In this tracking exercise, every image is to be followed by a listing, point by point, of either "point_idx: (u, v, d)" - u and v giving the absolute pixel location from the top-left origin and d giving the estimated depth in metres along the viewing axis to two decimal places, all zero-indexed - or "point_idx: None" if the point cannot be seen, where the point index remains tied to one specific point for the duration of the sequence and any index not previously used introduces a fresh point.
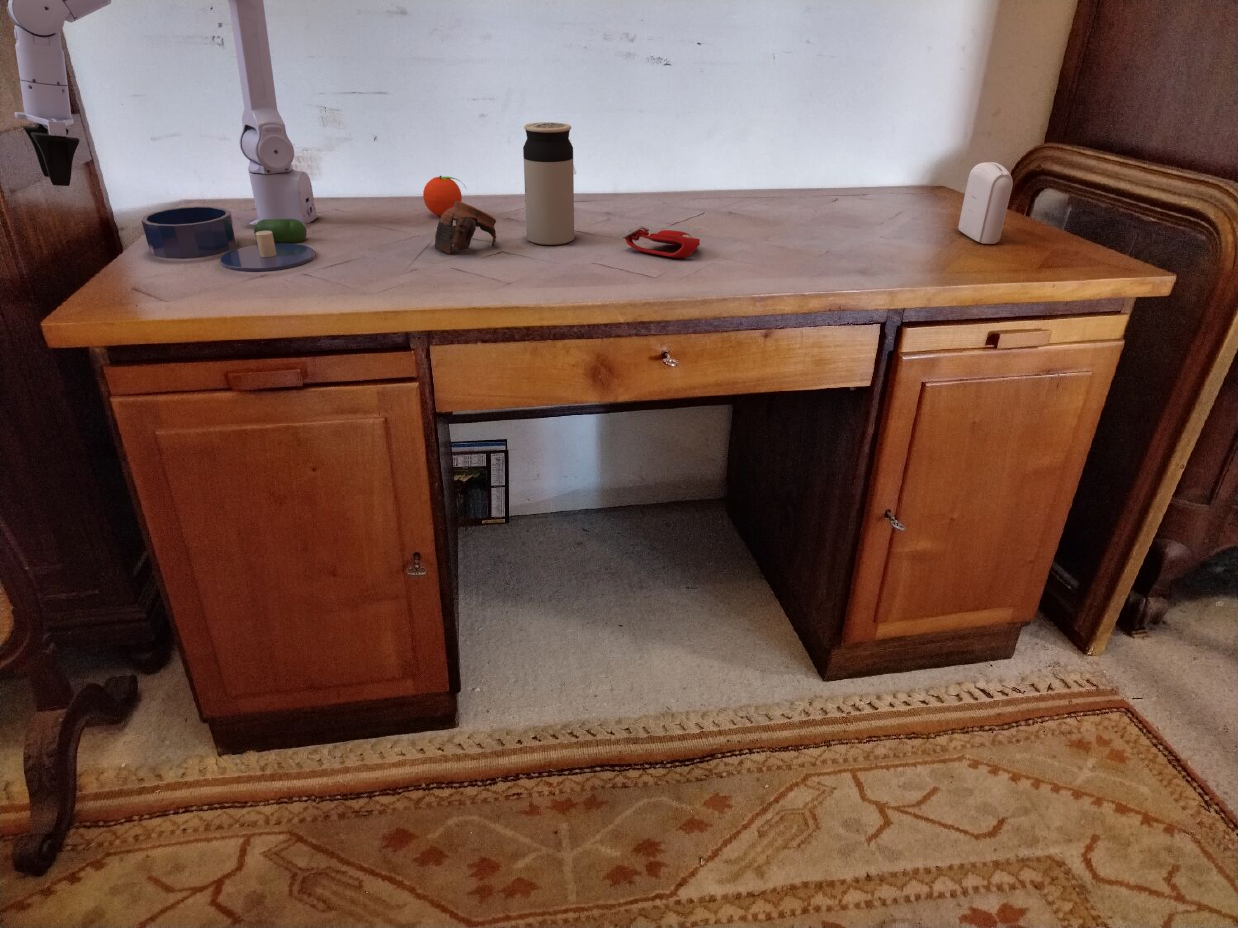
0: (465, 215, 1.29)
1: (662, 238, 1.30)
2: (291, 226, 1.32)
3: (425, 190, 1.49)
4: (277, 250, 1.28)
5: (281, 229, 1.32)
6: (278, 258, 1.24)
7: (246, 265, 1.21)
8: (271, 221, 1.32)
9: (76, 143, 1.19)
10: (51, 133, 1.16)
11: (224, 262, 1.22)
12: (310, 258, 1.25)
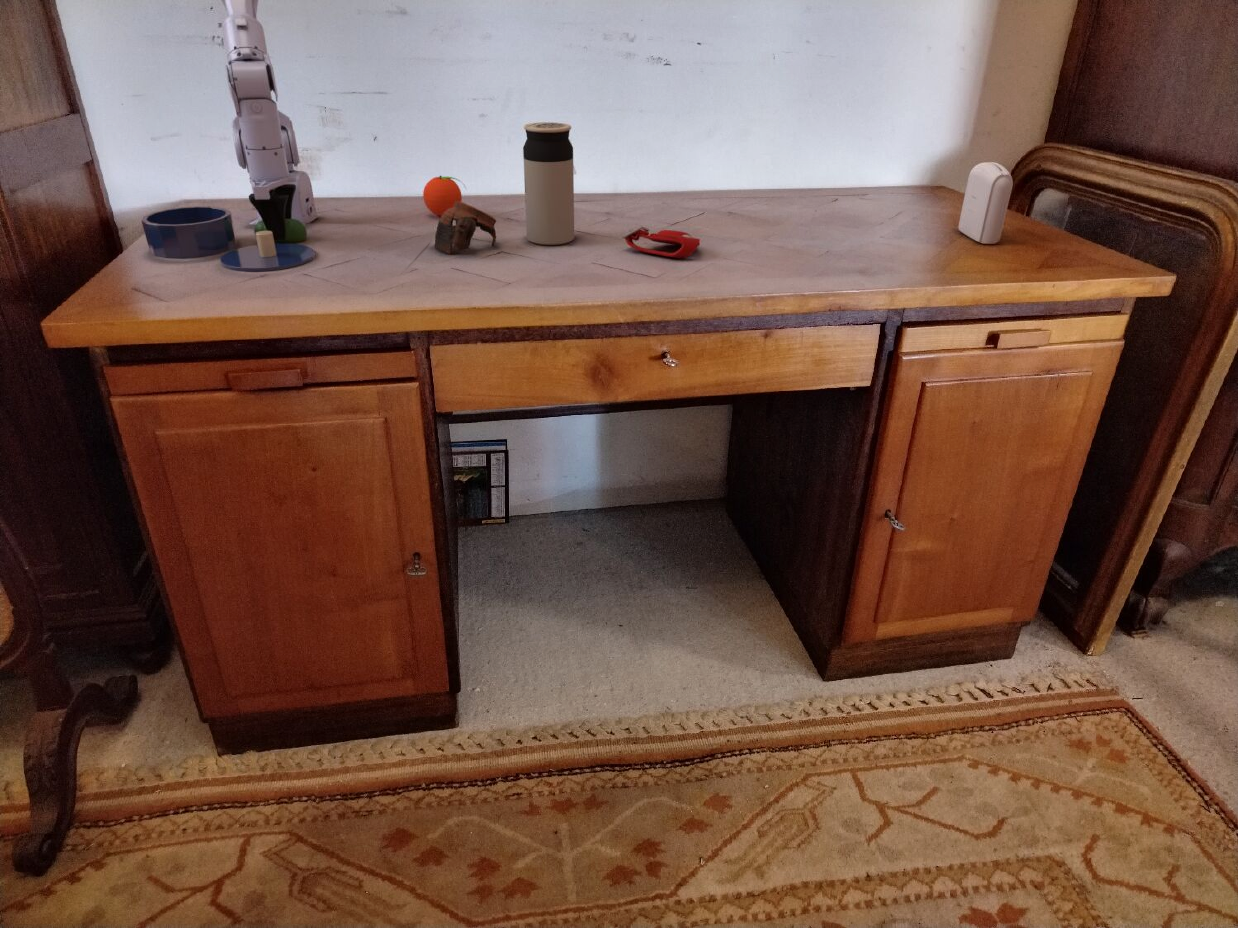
0: (465, 215, 1.29)
1: (662, 238, 1.30)
2: (291, 226, 1.32)
3: (425, 190, 1.49)
4: (277, 250, 1.28)
5: None
6: (278, 258, 1.24)
7: (246, 265, 1.21)
8: None
9: None
10: None
11: (224, 262, 1.22)
12: (310, 258, 1.25)
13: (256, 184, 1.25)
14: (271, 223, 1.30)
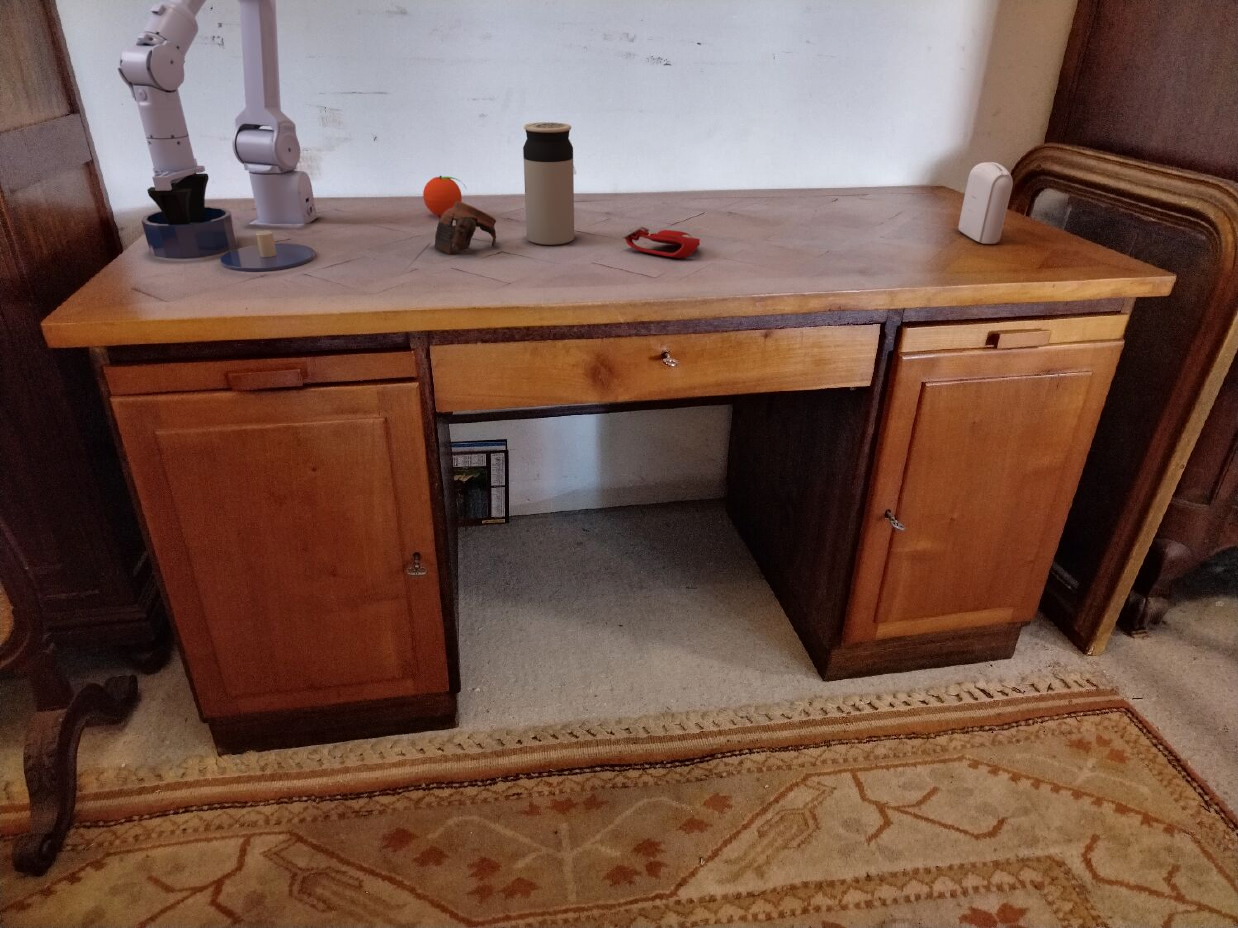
0: (465, 215, 1.29)
1: (662, 238, 1.30)
2: None
3: (425, 190, 1.49)
4: (277, 250, 1.28)
5: None
6: (278, 258, 1.24)
7: (246, 265, 1.21)
8: None
9: None
10: None
11: (224, 262, 1.22)
12: (310, 258, 1.25)
13: (157, 175, 1.20)
14: (174, 218, 1.24)
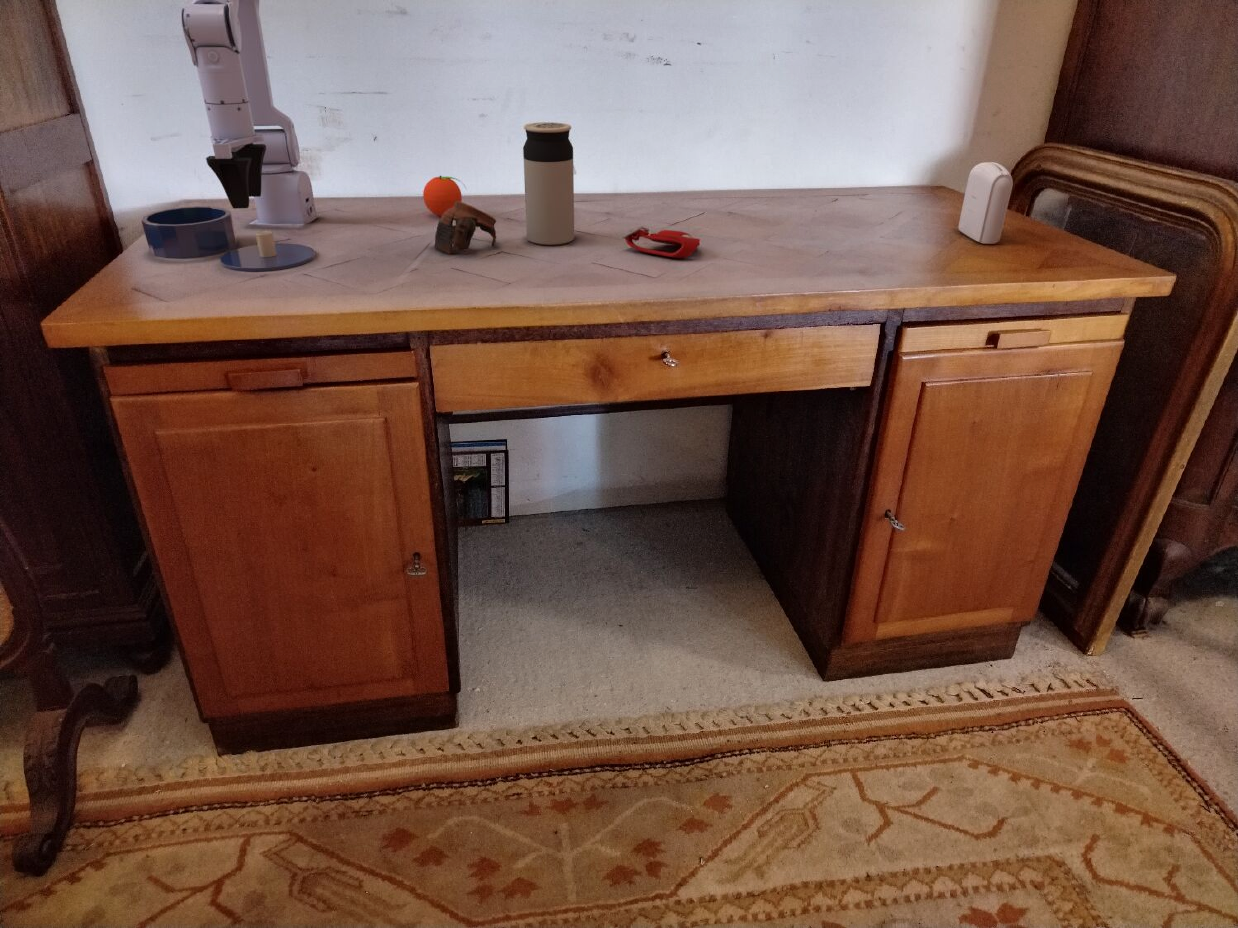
0: (465, 215, 1.29)
1: (662, 238, 1.30)
2: None
3: (425, 190, 1.49)
4: (277, 250, 1.28)
5: None
6: (278, 258, 1.24)
7: (246, 265, 1.21)
8: None
9: None
10: None
11: (224, 262, 1.22)
12: (310, 258, 1.25)
13: (217, 142, 1.13)
14: (232, 189, 1.17)
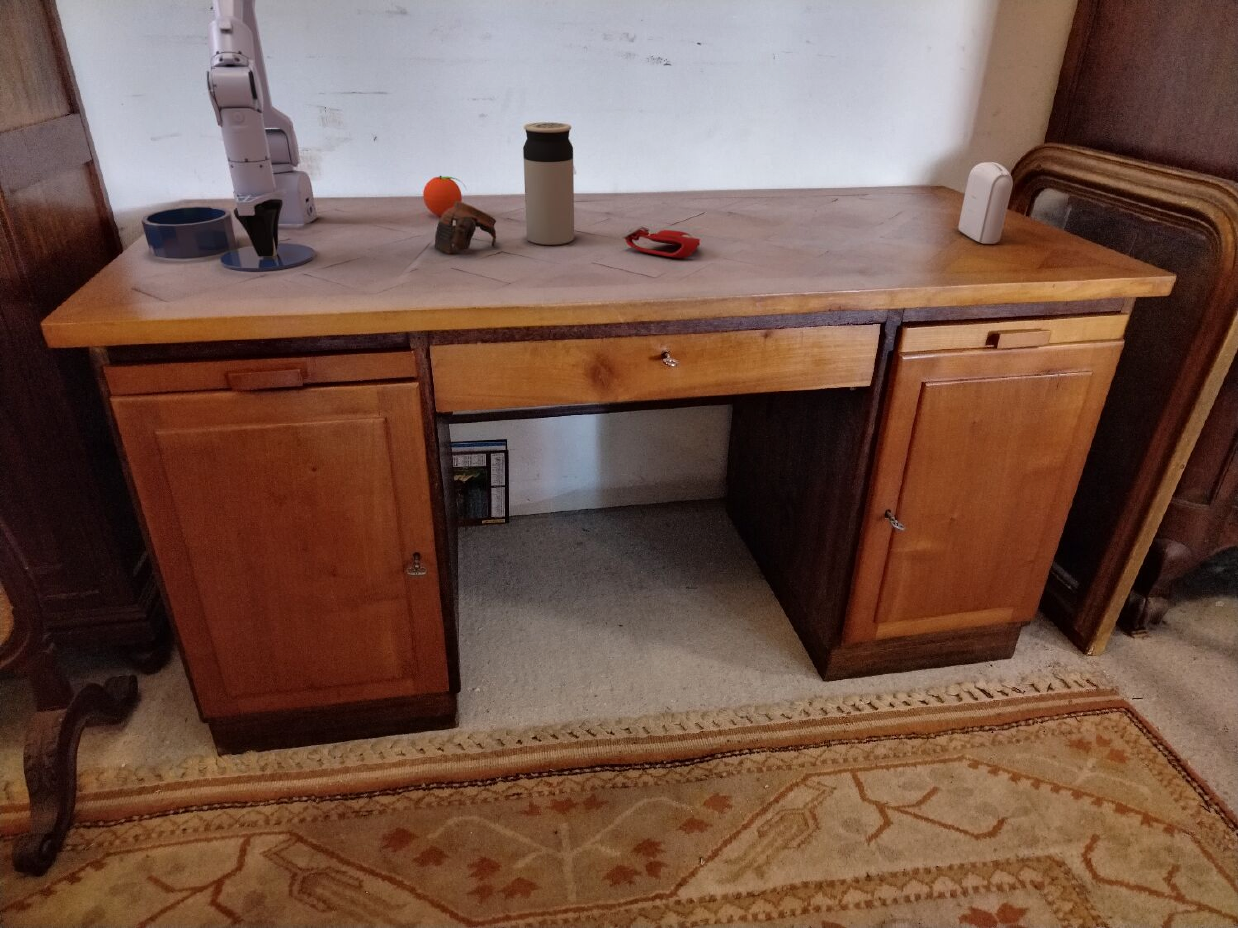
0: (465, 215, 1.29)
1: (662, 238, 1.30)
2: None
3: (425, 190, 1.49)
4: (277, 250, 1.28)
5: None
6: (278, 258, 1.24)
7: (246, 265, 1.21)
8: None
9: None
10: None
11: (224, 262, 1.22)
12: (310, 258, 1.25)
13: (240, 199, 1.16)
14: (258, 239, 1.22)
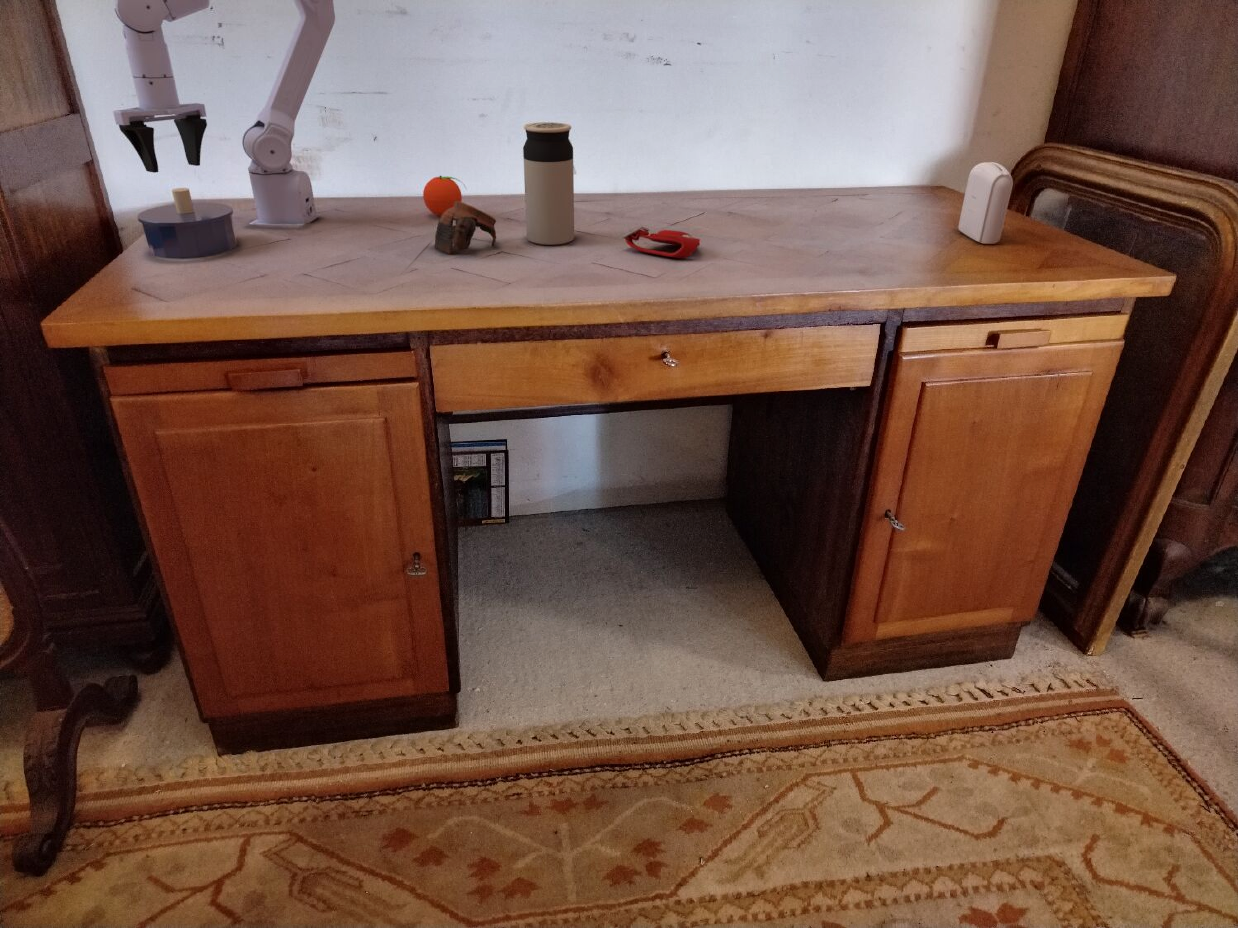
0: (465, 215, 1.29)
1: (662, 238, 1.30)
2: None
3: (425, 190, 1.49)
4: (196, 208, 1.30)
5: None
6: (194, 214, 1.26)
7: (161, 220, 1.23)
8: None
9: None
10: (205, 114, 1.36)
11: (140, 218, 1.24)
12: (226, 215, 1.27)
13: (128, 110, 1.27)
14: (143, 154, 1.30)
